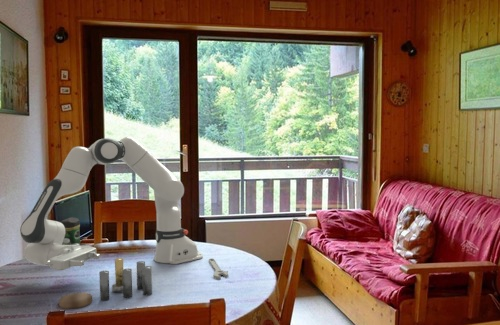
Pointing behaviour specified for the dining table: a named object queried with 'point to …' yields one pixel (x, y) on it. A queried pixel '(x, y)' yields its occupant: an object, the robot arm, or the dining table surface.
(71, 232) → the coffee jar
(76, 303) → the walnut plate
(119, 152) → the robot arm
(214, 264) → the adjustable wrench
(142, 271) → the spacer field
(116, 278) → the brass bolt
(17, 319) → the dining table surface
